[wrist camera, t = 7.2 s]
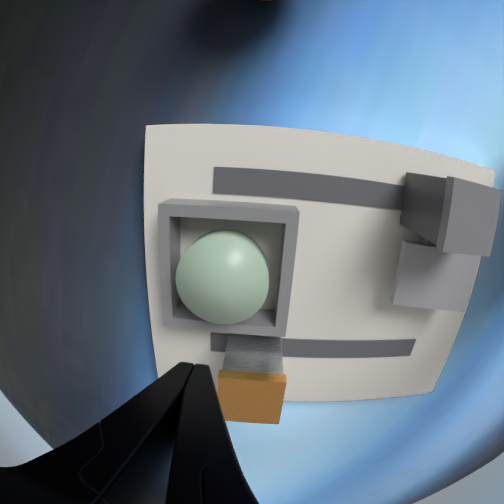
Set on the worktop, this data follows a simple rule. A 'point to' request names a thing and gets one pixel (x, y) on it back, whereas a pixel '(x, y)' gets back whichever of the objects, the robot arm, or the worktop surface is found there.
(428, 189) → the slider grey
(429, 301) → the rocker grey
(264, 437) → the worktop surface
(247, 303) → the button green
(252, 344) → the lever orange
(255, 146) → the panel
